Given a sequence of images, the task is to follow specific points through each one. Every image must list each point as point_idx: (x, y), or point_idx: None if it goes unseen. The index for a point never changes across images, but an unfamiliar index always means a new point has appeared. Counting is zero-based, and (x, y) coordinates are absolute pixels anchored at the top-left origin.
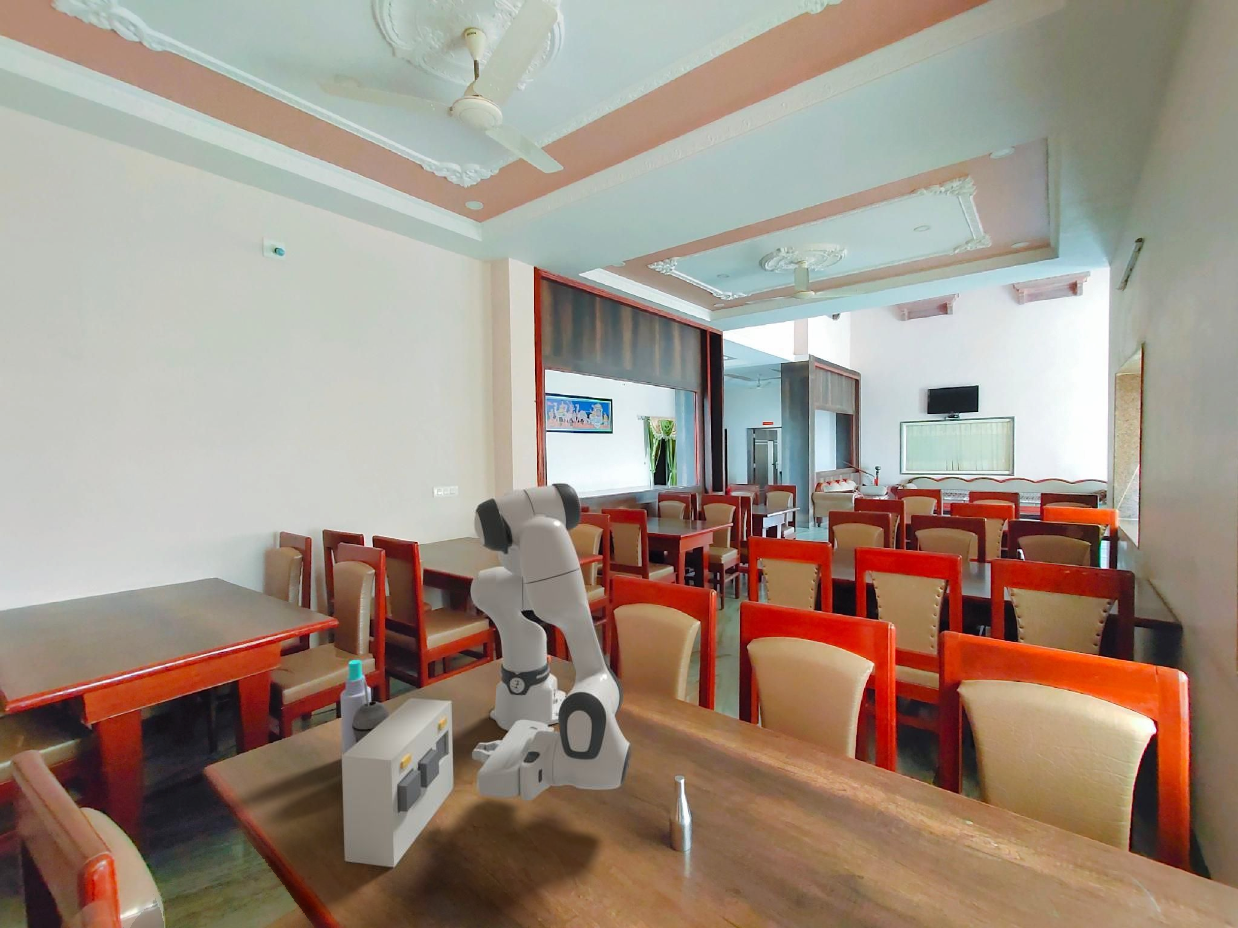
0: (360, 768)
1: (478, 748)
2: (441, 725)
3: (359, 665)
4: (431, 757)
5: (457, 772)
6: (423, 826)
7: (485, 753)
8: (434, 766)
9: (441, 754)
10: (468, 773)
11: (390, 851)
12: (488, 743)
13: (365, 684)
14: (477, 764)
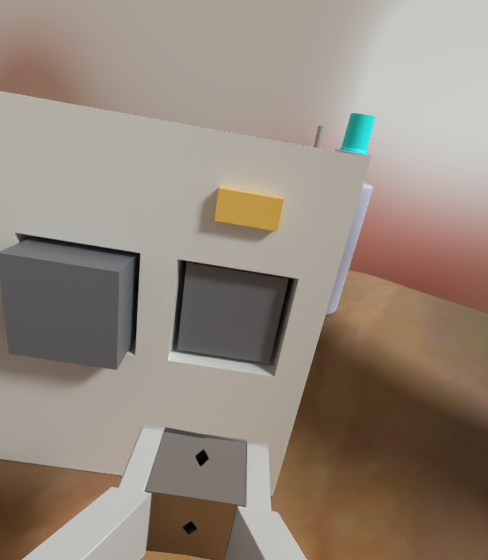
0: None
1: (174, 455)
2: (223, 204)
3: (362, 122)
4: (52, 260)
5: (356, 481)
6: (61, 463)
7: (32, 556)
8: (76, 317)
9: (235, 346)
10: (369, 523)
11: None
12: (262, 527)
13: (318, 131)
14: (434, 541)
